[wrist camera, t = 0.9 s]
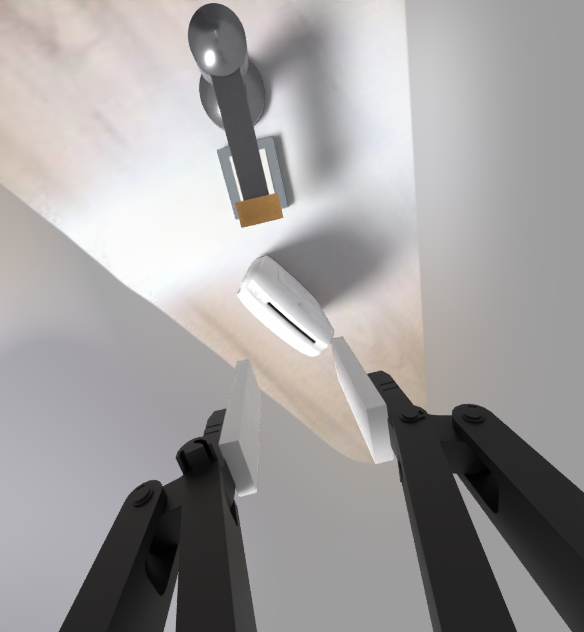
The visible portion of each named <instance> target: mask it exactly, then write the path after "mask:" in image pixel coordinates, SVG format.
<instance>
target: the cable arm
mask: <svg viewBox="0 0 584 632" xmlns="http://www.w3.org/2000/svg"><path fill="white" fill-rule="evenodd" d="M188 40H189V46H190V49H191V52H192V54H193V56H194V59H195V61H196V63H197V65H198V67H199V70H200V72H201V74H202V75H203V77H204V78H205V79H206V81H207V82H208V83H210V84H211V85H212V86H214V90H215V94H216V98H217V102H218V105H219V109H220V113H221V117H222V121H223V124H224V128H225V132H226V136H227V140H228V143H229V147H230V151H231V155H232V159H233V163H234V166H235V170H236V174H237V178H238V182H239V185H240V189H241V193H242V197H243V201H241V202H236V203H235V205H236V209H237V212H238V216H239V220H240V223H241V227H242V228H243V227H247V226H251V225H256V224H260V223H264V222H268V221H272V220H276V219H281V218H283V214H282V210H281V205H280V201H279V196H278V193H274V194H270V195H269V191H268V187H267V183H266V179H265V174H264V170H263V166H262V161H261V157H260V153H259V148H258V144H257V140H256V135H255V131H254V127H253V123H252V118H251V114H250V110H249V105H248V101H247V97H246V92H245V88H244V84H243V79H244V77H245V75H246V73H247V70H248V52H247V44H246V36H245V32H244V28H243V26H242V24H241V22H240V20H239V18H238V17H237V16H236V14H235V13H234V12H233V11H232V10H230V9H229V8H228V7H226V6H224V5H221V4H217V3H210V4H206V5H204V6H202V7H200V8H199V9H198V10H197V11H196V12H195V13H194V15H193V17H192V19H191V21H190V24H189V29H188Z"/></svg>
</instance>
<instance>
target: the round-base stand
mask: <svg viewBox="0 0 584 632" xmlns="http://www.w3.org/2000/svg"><path fill="white" fill-rule="evenodd" d="M243 84H244V88H245V92H246V97H247V101H248V105H249V110H250V114H251V118H252V123H253V126H254V125H255V124H256V123H257V122H258V120H259V119H260V117H261V115H262V112H263V109H264V104H265V91H264V85H263V81H262V78H261V76H260V74H259V72H258V70H257V69H256V67H255V66H254V65H253V64H252V63H251V62H250V61H249V60H248V70H247V73H246V75H245V77H244V79H243ZM199 92H200V98H201V102H202V105H203V107H204V109H205V111H206V113H207V115H208V116H209V118H210V119H211V120H212V121H213V122H214V123H215V124H216V125H217V126H218V127H220V128H221V129H223V130H225V128H224V124H223V121H222V117H221V113H220V109H219V105H218V102H217V98H216V94H215V90H214V86H212V85H211V84H210V83H208V82H207V81H206V79H205V78H204V77H203V75H202V74H201V78H200V84H199Z"/></svg>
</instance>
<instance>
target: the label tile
mask: <svg viewBox="0 0 584 632" xmlns="http://www.w3.org/2000/svg"><path fill="white" fill-rule="evenodd" d="M257 144H258V148H259V153H260V157H261V161H262V166H263V170H264V174H265V179H266V183H267V187H268V191H269V195H270V194H274V193H278V196H279V201H280V205H281V209H283V208H287V207H288V205H287V201H286V196H285V191H284V187H283V182H282V177H281V173H280V168H279V163H278V159H277V154H276V149H275V145H274V140H273V137H269V138H264V139H260V140H257ZM217 153H218V157H219V161H220V164H221V168H222V172H223V175H224V179H225V182H226V186H227V190H228V193H229V197H230V200H231V204H232V208H233V211H234V215H235V218H236V220H237V219H239V216H238V212H237V209H236V205H235V203H236V202H241V201H243V197H242V193H241V189H240V185H239V182H238V178H237V174H236V170H235V166H234V163H233V159H232V155H231V151H230V147H227V148H223V149H218V150H217Z"/></svg>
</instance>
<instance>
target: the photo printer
mask: <svg viewBox="0 0 584 632" xmlns="http://www.w3.org/2000/svg"><path fill="white" fill-rule="evenodd" d="M237 295H238V297H239V298H240V300H241V301H242V303H243V304H244V305H245V306H246V307H247V308H248V309H249V310H250V311H251V312H252V313H253V314H254V315H255V316H256V317H257V318H258V319H259V320H260V321H261V322H262V323H264V324H265V325H266V326H267V327H268V328H269V329H270V330H272V331H273V332H274V333H275V334H277V335H278V336H279V337H280V338H282V339H283V340H284V341H285V342H287V343H288V344H290V345H291V346H292V347H294V348H295V349H297V350H298V351H300V352H302V353H304V354H306V355H309V356H317V355H319V354H320V353H321V352H322V351H323V350H324V349H325V348H326V347H327V346H329V344H330V343H331V341H330V339H333V336H334V329H333V327H332V325H331V324H330V322H329V320H328V319H327V317H326V315H325V314H324V312H323V310H322V308H321V307H320V305H319V303H318V302H317V300H316V299H315V298H314V297H313V296H312V295H311V294H310V293H309V292H308V291H307V290H306V289H305V288H304V287H303V286H302V285H301V284H300V283H299V282H298V281H297V280H296V279H295V278H293V277H292V276H291V275H290V274H289V273H288V272H287V271H286V270H285V269H283V268H282V267H281V266H280V265H279V264H278V263H277V262H275V261H274V260H273V259H271V258H270V257H268V256H266V255H264V257H261V258H258V259H256V260H254V261H253V262H252V263H251V265H250V266H249V268H248V270H247V272H246V274H245V276H244V278H243V280H242V282H241V287H240V289H239V291H238V293H237Z"/></svg>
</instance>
